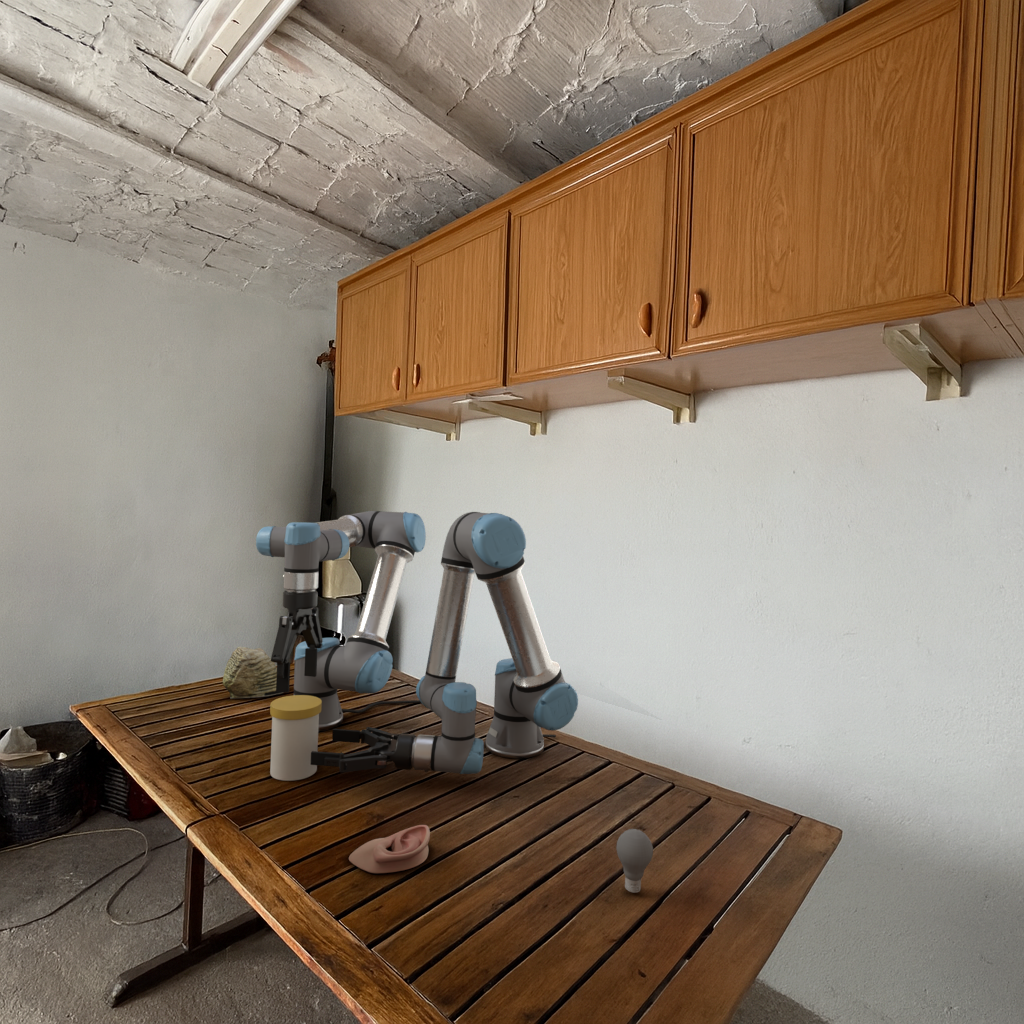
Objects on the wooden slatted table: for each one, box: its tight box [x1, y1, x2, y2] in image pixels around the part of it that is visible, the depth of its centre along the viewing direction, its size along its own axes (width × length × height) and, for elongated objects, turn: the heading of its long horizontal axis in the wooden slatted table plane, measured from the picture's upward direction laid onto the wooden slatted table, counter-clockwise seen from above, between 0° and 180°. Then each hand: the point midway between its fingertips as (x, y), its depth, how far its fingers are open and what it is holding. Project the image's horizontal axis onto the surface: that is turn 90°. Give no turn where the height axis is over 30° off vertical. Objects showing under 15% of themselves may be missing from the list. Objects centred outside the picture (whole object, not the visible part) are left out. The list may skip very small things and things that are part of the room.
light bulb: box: [615, 828, 654, 894], centre depth 106 cm, size 6×6×10 cm
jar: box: [269, 714, 319, 782], centre depth 145 cm, size 10×10×15 cm
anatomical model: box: [348, 824, 431, 874], centre depth 113 cm, size 13×4×12 cm
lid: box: [269, 694, 322, 720], centre depth 145 cm, size 11×11×2 cm
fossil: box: [222, 646, 284, 699], centre depth 198 cm, size 9×18×15 cm, turn 132°
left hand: (297, 683), depth 145 cm, fingers open, 12 cm apart
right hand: (322, 745), depth 144 cm, fingers open, 13 cm apart
